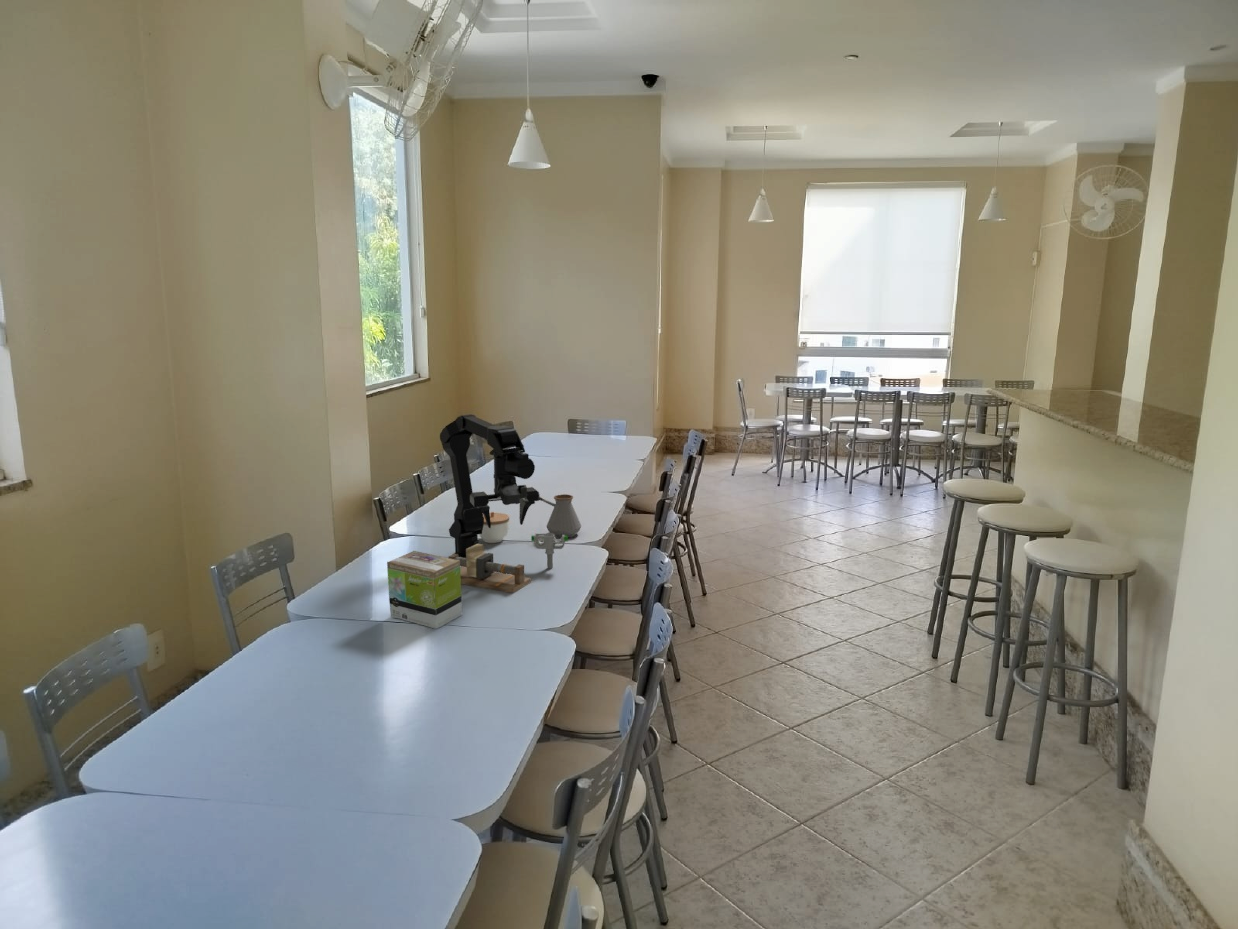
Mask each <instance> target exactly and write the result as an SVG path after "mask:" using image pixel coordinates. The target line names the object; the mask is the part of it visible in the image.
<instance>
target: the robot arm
mask: <svg viewBox="0 0 1238 929" xmlns="http://www.w3.org/2000/svg"><path fill="white" fill-rule="evenodd" d="M473 435H476V436H478V437H480V438H482V439H484V440H486V444H487V445H488V446H489V447H491V448H492V449H491V450H490V452H489V455H490V456H493V469H494V470H493V479H494V480H493V481H494V483H493V484H494V485H493V486H494V488H493V494H492V493H491V494H487V493H486V492H485V491H473V487H472V480H471V473H470V469H469V468H470V467H469V462H468V456H467V454H468V452H469V449H470V446H471V438H472V437H473ZM439 440H440V442H441V446H442V448H443V450H444V452H445V453H446V454H447V455H448V457H449V458H450V466H451V472H452V478H453V484H454V489H455V496H456V501H457V504H456V508H455V510H454V513H453V523H452V524H451V526H450V527H449V528H448V532H449V533H448V534H449V536H450V537H451V538H454V548H455V549H454V550H455V552H454V553H452V554H451V555H453V554H458V555H459V557H462V558H466V549H467V548H469V547H472V546H474V545H476V544H480V541H479V540H480V539H478V536H479V534H482V530H483V525H484V517H485V520H486V522H487V525H488V527H489V528H491V521H490V513H491V512H490V509H491V508H490V505H488V504H489V502H498V501H501V502H502V504H503V505H505V506H509V505H519V524H520V525H521V526H522V525H523V524H524V521H525V518H526V515H527V512H528V510H529V509H530V507H531V506H532V505H535V504H536V502H538V501H541V500H540V497H541V496H540V492H539V490H538V489H536V488H534V487H533V486H531V487H527V484H517V478H519V479H523V480H527V479H530V478H531V477H532V476H533V475H534V473H535V471H536V470H535V468H536V466H535V463H534V460H532V459H531V458H529V453H526V450H525V445H524V444H523V442H522V440H521V438H520V435H519V433H518V432H517V430H516V428H515V427H513V426H508V425H495V424H492V423H491V422H488V421H486V420H483V419H482V418H479V417H477V416H476V415H475V414H461V415H459V416H457V417H456V418H455V420H454V421H451V422H450V423H448V424H447V425H445V426H444V427H443V429H442V430H441V431H440V433H439ZM516 477H517V478H516ZM483 515H484V517H483Z"/></svg>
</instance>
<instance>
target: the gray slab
mask: <svg viewBox="0 0 1238 929" xmlns="http://www.w3.org/2000/svg"><path fill="white" fill-rule="evenodd" d="M486 553H487V554H485V555H483V556H481V557H479V558H477V578H479V579H483V578H485V577H487V576H489V575H491V574H492V573H494V572H493V571H487V570H485V567H484V562H493V563H494V553H492V552H486Z"/></svg>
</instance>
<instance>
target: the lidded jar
mask: <svg viewBox="0 0 1238 929" xmlns="http://www.w3.org/2000/svg"><path fill="white" fill-rule="evenodd" d="M489 513H490V521H491V528H489V527H488V525H487V522H486V520H485V517H484V515H483V517H484V525H483V530H482V534H478V536H479V537H480V538H481V539H482V541H483V542H485V543H489V544H495V543H501V542H503V540H504V539H505V537H507V535H508V533H509V529H510V528H509V527H510V515H508V514H506V513H504V512H503V513H502V512H495V511H490V512H489Z"/></svg>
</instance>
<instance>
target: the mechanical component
mask: <svg viewBox="0 0 1238 929" xmlns="http://www.w3.org/2000/svg"><path fill="white" fill-rule="evenodd" d="M540 540H543V541H540ZM531 542H534V547H535V548H536V549H537V550H538V549H539V550H545V552H544V553H545V554H546V556H547V557H546V558H547V559H546V560H547V562H546V563H547V564H546V565H547V566H546V567H547V569H548V570H551V569H553V566H554V563H553V555H554V554H555V550H562V549H563V548H564V547H565V543H566V542H568V537H567V536H565V535H562V538H558V539H557V537H555V536H554V534H551V533H534V535H533V534H532V535H531Z"/></svg>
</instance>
